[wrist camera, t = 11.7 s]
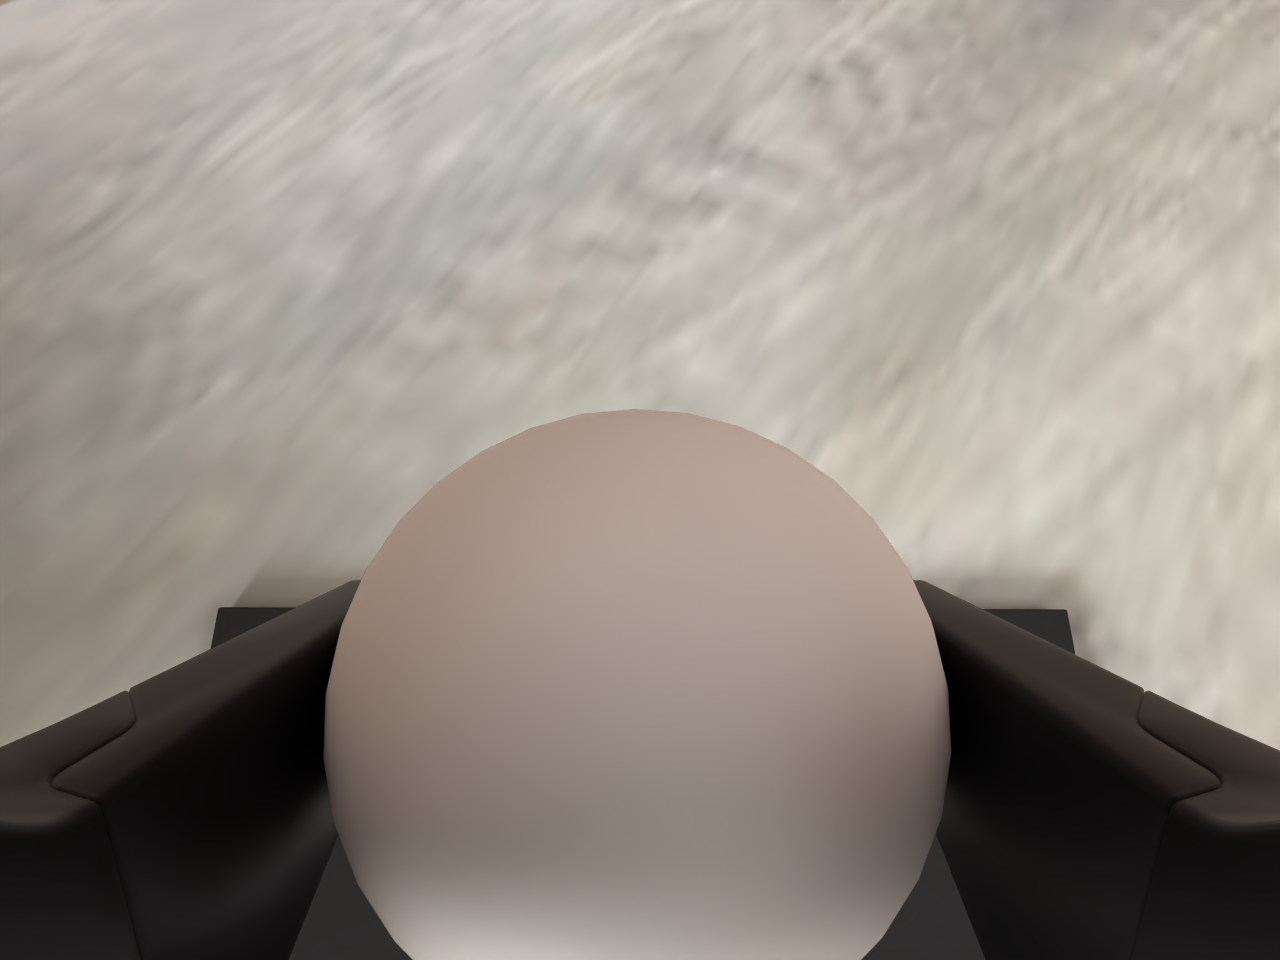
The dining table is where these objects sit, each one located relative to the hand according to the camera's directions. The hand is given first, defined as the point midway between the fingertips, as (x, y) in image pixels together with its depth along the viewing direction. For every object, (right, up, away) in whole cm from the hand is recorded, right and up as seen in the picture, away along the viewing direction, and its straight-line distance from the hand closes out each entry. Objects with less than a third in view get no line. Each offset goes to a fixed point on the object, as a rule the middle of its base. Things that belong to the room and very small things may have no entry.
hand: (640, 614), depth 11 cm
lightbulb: (0, -4, +6) cm, 7 cm away
